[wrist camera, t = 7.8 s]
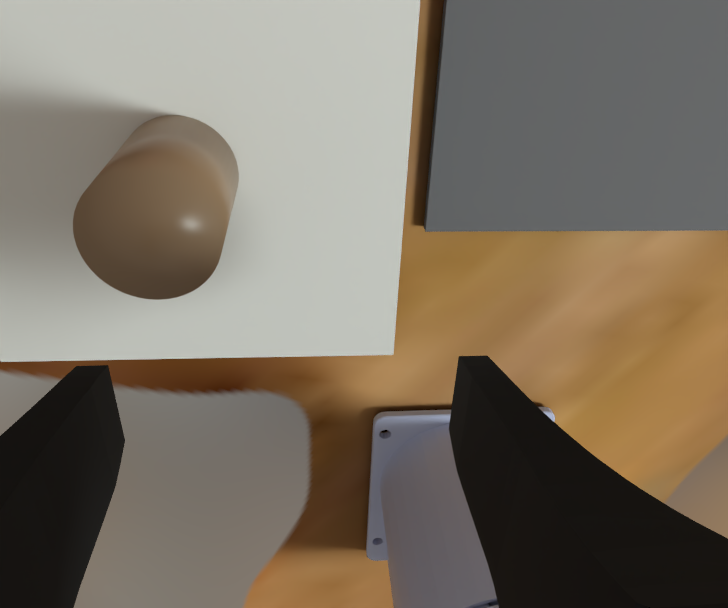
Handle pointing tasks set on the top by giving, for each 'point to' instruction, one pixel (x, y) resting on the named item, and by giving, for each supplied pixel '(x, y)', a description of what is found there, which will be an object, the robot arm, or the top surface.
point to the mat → (580, 116)
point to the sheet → (292, 162)
